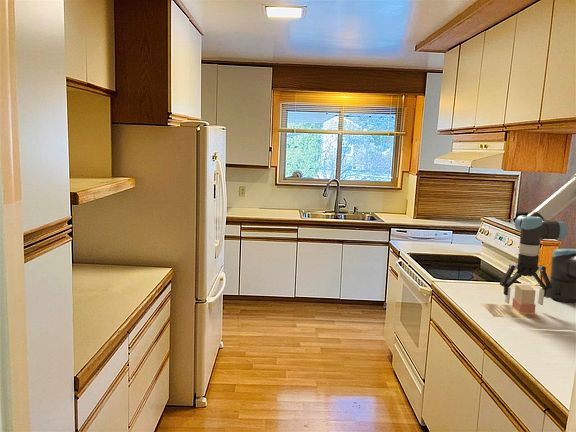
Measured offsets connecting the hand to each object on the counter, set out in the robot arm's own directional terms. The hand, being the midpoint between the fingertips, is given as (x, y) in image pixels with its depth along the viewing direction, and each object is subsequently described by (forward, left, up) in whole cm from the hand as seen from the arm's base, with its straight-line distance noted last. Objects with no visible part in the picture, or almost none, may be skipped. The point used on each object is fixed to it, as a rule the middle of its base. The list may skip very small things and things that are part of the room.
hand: (523, 303), depth 200 cm
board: (+6, +1, -4) cm, 7 cm away
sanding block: (0, 0, -3) cm, 3 cm away
